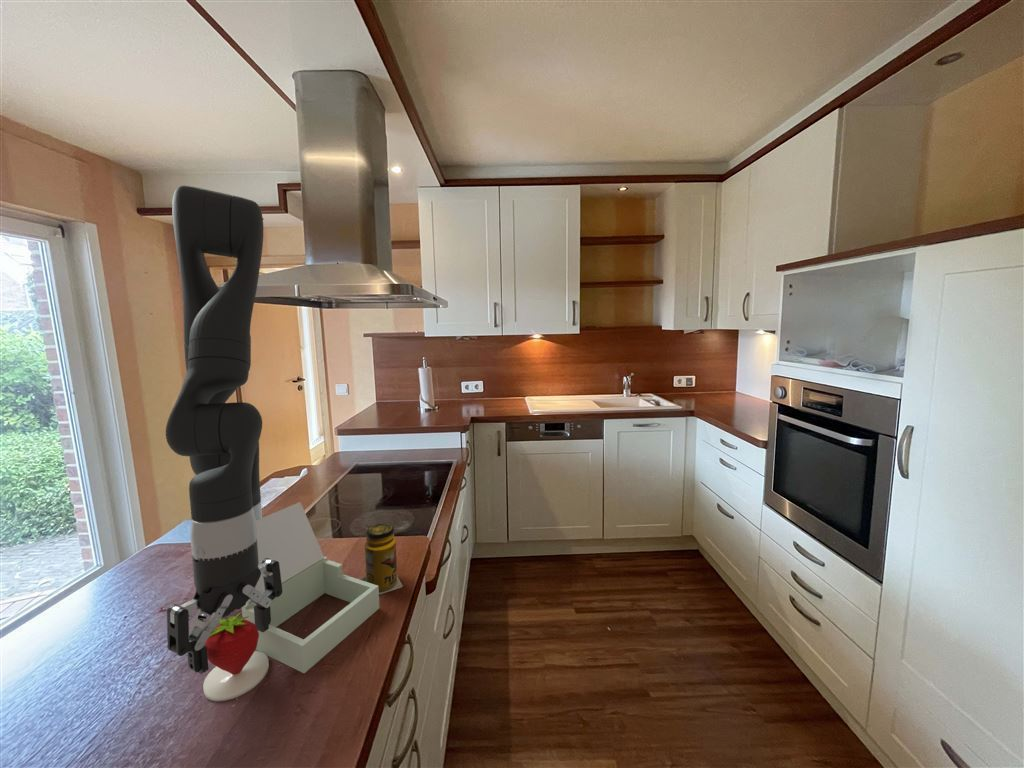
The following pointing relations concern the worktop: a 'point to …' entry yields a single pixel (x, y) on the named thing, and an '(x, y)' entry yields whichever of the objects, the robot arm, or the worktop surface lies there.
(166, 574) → the worktop surface
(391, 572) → the condiment
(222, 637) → the strawberry
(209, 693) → the cream white rounded part
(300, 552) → the cold frame
